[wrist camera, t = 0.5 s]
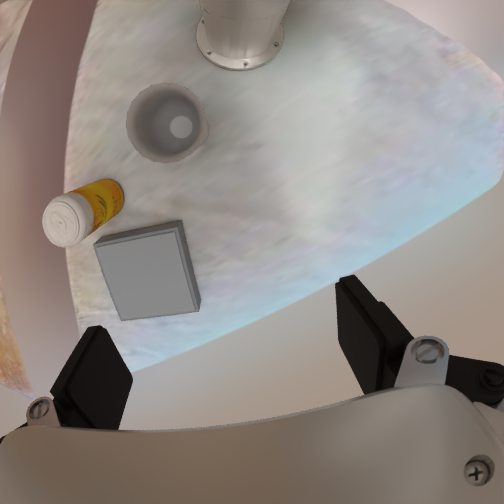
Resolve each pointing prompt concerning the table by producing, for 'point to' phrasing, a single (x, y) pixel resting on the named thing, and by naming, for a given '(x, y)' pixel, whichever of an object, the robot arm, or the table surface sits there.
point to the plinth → (149, 272)
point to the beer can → (81, 212)
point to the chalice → (166, 123)
